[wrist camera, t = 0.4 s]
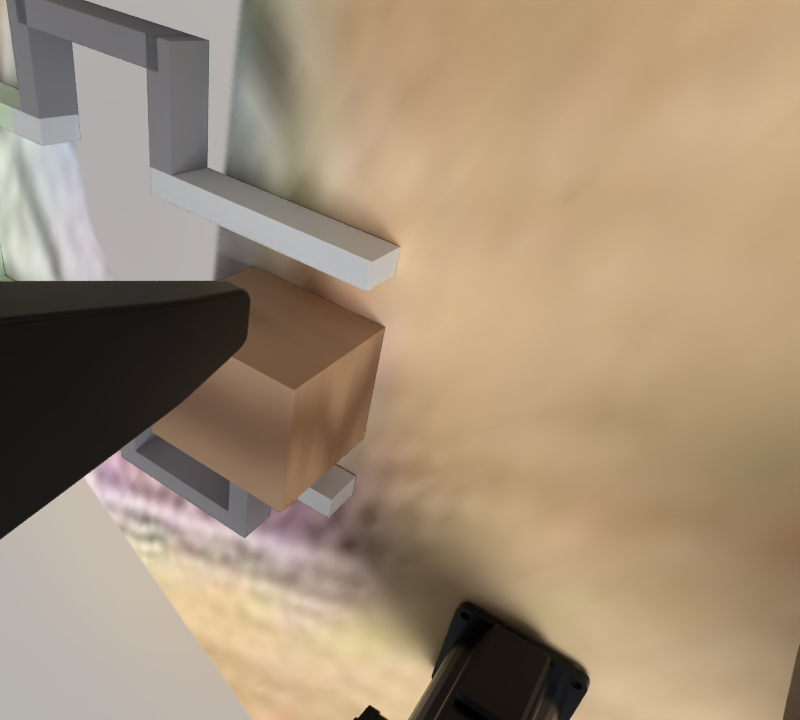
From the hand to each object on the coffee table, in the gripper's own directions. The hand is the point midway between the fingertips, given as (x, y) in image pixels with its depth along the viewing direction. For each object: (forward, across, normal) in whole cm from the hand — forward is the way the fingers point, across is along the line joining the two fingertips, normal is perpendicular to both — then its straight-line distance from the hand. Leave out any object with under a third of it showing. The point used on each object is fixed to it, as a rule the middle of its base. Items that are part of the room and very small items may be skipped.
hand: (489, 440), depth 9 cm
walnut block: (+14, +12, +10) cm, 21 cm away
